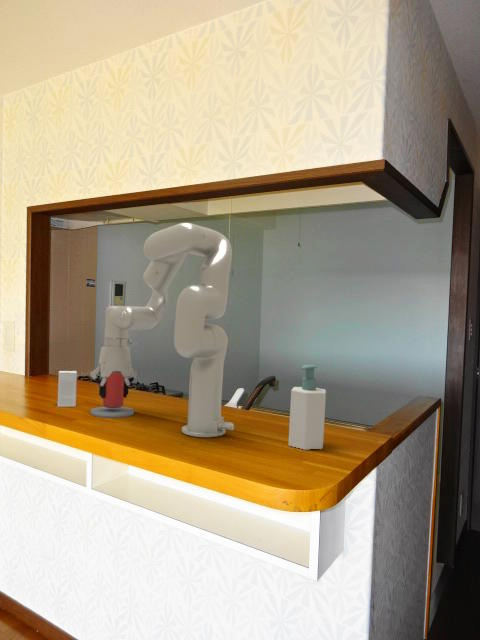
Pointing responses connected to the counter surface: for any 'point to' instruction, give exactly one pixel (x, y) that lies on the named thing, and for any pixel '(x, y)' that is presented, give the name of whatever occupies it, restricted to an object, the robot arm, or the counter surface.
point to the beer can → (114, 390)
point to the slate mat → (112, 412)
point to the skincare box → (67, 388)
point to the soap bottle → (307, 413)
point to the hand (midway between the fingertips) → (113, 396)
